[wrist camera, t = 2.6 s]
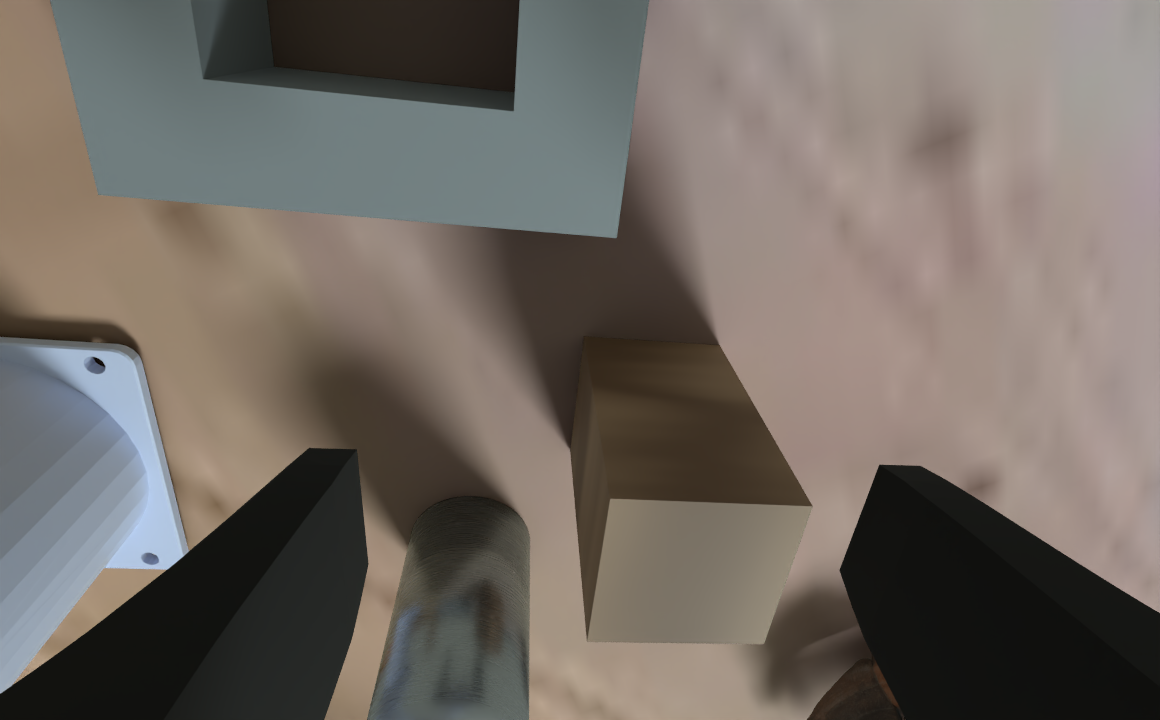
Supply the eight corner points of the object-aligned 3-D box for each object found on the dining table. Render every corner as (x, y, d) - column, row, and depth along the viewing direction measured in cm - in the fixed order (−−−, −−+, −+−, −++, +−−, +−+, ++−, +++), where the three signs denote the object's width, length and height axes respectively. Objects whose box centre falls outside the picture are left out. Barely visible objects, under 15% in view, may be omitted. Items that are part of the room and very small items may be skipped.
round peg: (411, 583, 22) (365, 799, 16) (409, 493, 20) (356, 699, 14) (526, 585, 23) (523, 797, 16) (534, 498, 21) (534, 700, 15)
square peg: (570, 450, 20) (586, 641, 14) (584, 336, 18) (610, 498, 12) (693, 456, 20) (763, 644, 14) (719, 345, 19) (812, 506, 12)
